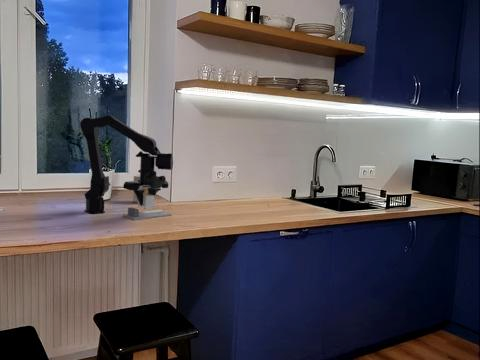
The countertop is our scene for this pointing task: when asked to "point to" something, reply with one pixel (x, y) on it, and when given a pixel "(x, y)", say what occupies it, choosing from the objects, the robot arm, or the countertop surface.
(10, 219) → the countertop surface
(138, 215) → the rail board
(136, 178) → the supplement box
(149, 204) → the module
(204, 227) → the countertop surface
